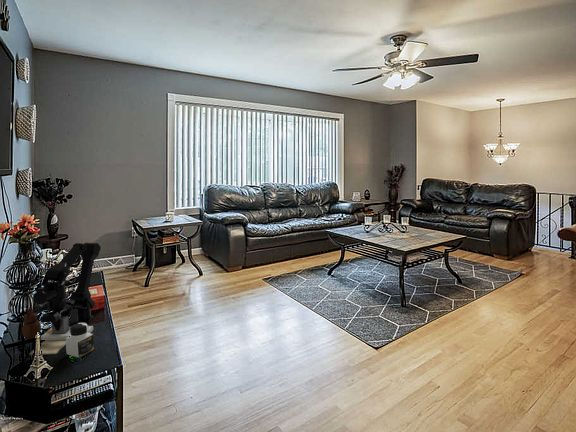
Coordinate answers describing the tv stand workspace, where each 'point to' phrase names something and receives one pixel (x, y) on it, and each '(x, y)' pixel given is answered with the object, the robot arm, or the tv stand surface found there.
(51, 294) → the robot arm
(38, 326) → the wooden figurine
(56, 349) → the pad
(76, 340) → the medicine bottle
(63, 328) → the charger
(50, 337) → the power strip
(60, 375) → the tv stand surface
